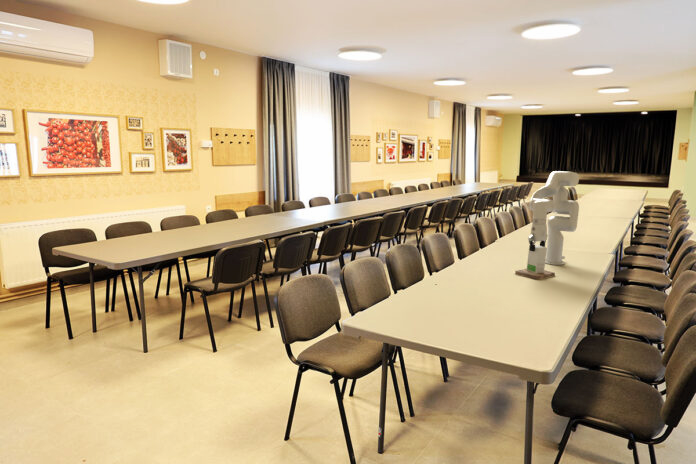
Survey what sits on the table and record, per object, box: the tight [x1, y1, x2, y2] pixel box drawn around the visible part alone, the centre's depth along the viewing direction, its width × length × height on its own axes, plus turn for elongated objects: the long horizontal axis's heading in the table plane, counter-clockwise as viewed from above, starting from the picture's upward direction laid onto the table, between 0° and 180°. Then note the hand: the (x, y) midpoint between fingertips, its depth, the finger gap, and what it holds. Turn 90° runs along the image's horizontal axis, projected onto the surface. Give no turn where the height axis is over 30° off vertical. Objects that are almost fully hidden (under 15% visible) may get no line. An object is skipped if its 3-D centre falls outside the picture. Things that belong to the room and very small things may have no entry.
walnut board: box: [514, 268, 556, 281], centre depth 274 cm, size 17×15×2 cm
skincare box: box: [526, 244, 547, 273], centre depth 273 cm, size 8×7×16 cm
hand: (537, 249), depth 272 cm, fingers open, 9 cm apart
